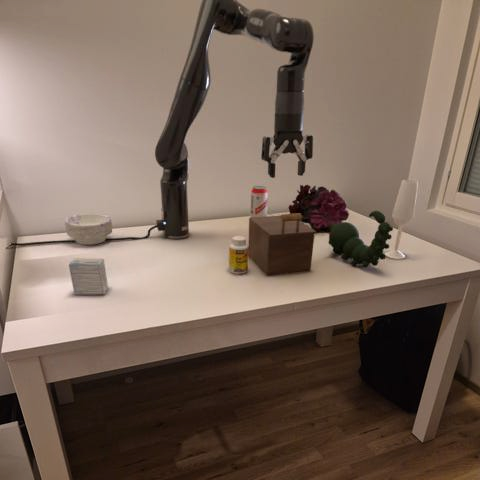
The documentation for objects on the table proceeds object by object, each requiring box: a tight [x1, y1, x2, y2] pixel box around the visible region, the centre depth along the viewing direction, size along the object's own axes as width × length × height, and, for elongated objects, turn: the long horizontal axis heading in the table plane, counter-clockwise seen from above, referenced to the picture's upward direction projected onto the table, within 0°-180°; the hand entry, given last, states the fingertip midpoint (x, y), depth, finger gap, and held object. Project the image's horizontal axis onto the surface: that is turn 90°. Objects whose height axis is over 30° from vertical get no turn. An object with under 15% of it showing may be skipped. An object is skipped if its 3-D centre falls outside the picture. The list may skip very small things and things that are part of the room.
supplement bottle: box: [228, 235, 249, 275], centre depth 123 cm, size 6×6×10 cm
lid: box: [248, 213, 317, 238], centre depth 125 cm, size 18×14×6 cm
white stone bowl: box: [64, 213, 113, 246], centre depth 146 cm, size 15×15×8 cm
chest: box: [247, 219, 315, 277], centre depth 129 cm, size 18×14×12 cm
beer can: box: [249, 185, 269, 218], centre depth 160 cm, size 6×6×16 cm
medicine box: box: [68, 257, 109, 296], centre depth 109 cm, size 8×4×9 cm, turn 92°
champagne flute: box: [384, 179, 419, 260], centre depth 135 cm, size 7×7×24 cm
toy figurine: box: [327, 210, 394, 268], centre depth 131 cm, size 9×19×25 cm
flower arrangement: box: [288, 184, 350, 233], centre depth 170 cm, size 31×20×15 cm, turn 22°
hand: (286, 176), depth 117 cm, fingers open, 8 cm apart
